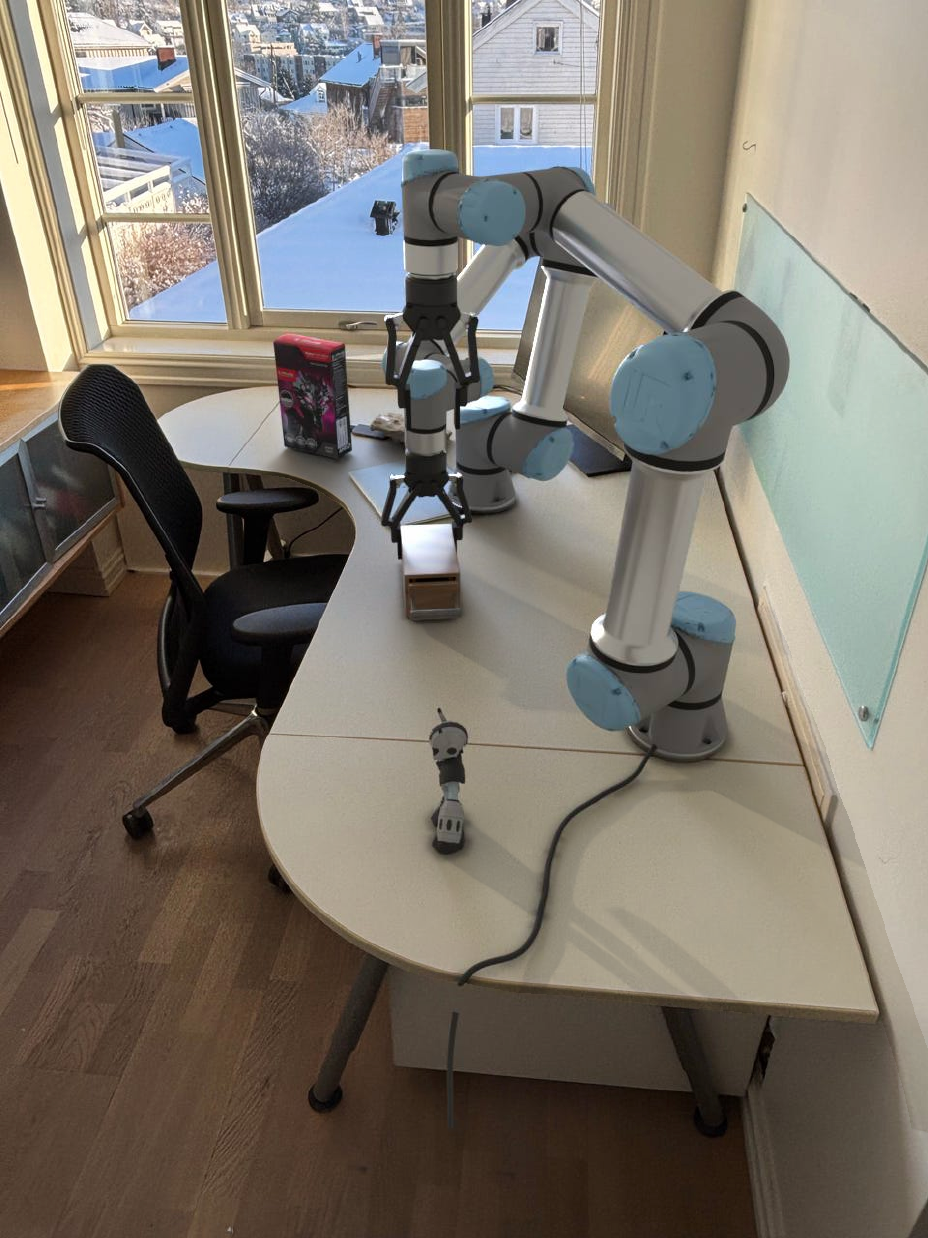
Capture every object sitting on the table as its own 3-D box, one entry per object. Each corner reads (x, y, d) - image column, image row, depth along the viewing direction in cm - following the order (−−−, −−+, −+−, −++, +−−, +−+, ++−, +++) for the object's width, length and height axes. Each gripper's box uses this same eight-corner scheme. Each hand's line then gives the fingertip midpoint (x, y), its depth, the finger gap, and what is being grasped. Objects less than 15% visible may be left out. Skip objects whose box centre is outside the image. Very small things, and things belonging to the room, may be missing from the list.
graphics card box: (282, 447, 232) (270, 339, 217) (298, 438, 237) (288, 331, 222) (338, 461, 225) (330, 350, 210) (354, 451, 230) (347, 342, 215)
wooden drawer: (461, 637, 162) (461, 602, 158) (411, 639, 161) (410, 605, 157) (449, 568, 182) (449, 536, 178) (405, 570, 181) (404, 538, 177)
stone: (354, 436, 230) (358, 412, 227) (375, 427, 243) (380, 405, 241) (432, 460, 226) (438, 436, 224) (450, 450, 240) (455, 428, 237)
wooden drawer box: (459, 615, 170) (460, 572, 165) (405, 617, 169) (404, 575, 164) (451, 563, 185) (451, 523, 180) (401, 565, 184) (400, 525, 179)
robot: (470, 888, 117) (472, 772, 106) (432, 889, 117) (430, 773, 106) (463, 780, 133) (464, 669, 122) (429, 781, 133) (427, 670, 122)
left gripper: (485, 438, 171) (482, 543, 184) (363, 442, 169) (368, 547, 182) (489, 455, 165) (486, 562, 178) (363, 458, 163) (369, 567, 176)
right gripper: (497, 265, 134) (493, 415, 147) (360, 267, 132) (368, 419, 145) (503, 278, 128) (499, 434, 141) (360, 280, 126) (369, 438, 139)
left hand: (427, 554), depth 180 cm, fingers closed on wooden drawer box, 10 cm apart
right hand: (432, 426), depth 143 cm, fingers open, 7 cm apart
